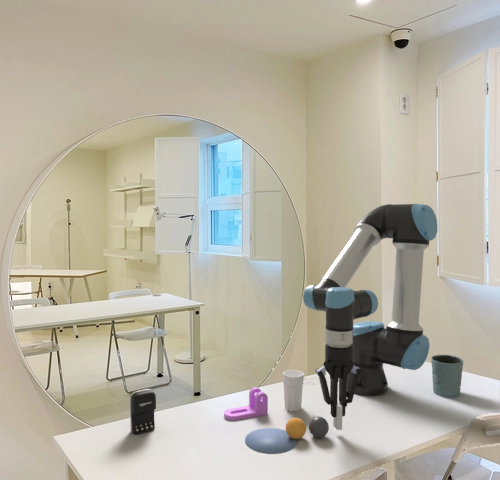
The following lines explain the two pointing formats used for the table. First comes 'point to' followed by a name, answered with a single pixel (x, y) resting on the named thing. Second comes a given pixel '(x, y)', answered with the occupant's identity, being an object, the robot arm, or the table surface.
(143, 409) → the battery charger
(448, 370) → the teal tapered pot
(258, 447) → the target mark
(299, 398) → the cup
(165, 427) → the table surface
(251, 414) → the bracket
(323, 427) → the gray ball
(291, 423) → the object ball
